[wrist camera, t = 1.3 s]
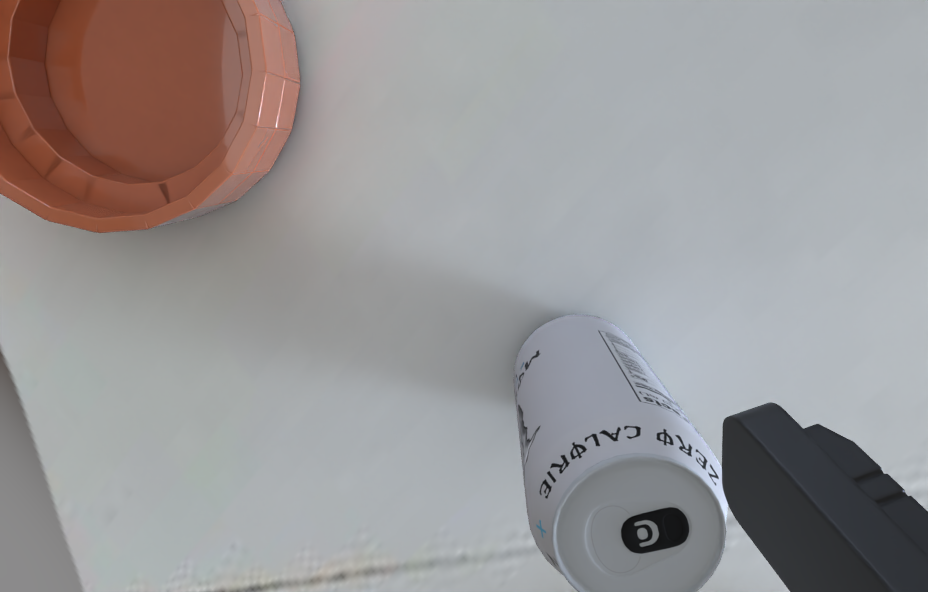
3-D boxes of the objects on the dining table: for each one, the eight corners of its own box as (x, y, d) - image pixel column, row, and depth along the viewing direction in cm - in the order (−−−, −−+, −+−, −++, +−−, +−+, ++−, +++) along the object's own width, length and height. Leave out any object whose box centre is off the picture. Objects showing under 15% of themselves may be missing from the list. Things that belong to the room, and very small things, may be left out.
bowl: (31, -119, 31) (-66, -175, 25) (328, -45, 31) (294, -85, 25) (2, 180, 33) (-92, 187, 28) (274, 247, 34) (233, 266, 28)
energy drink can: (498, 327, 34) (506, 464, 19) (621, 295, 33) (724, 411, 19) (530, 440, 35) (559, 651, 20) (649, 411, 35) (767, 606, 20)
